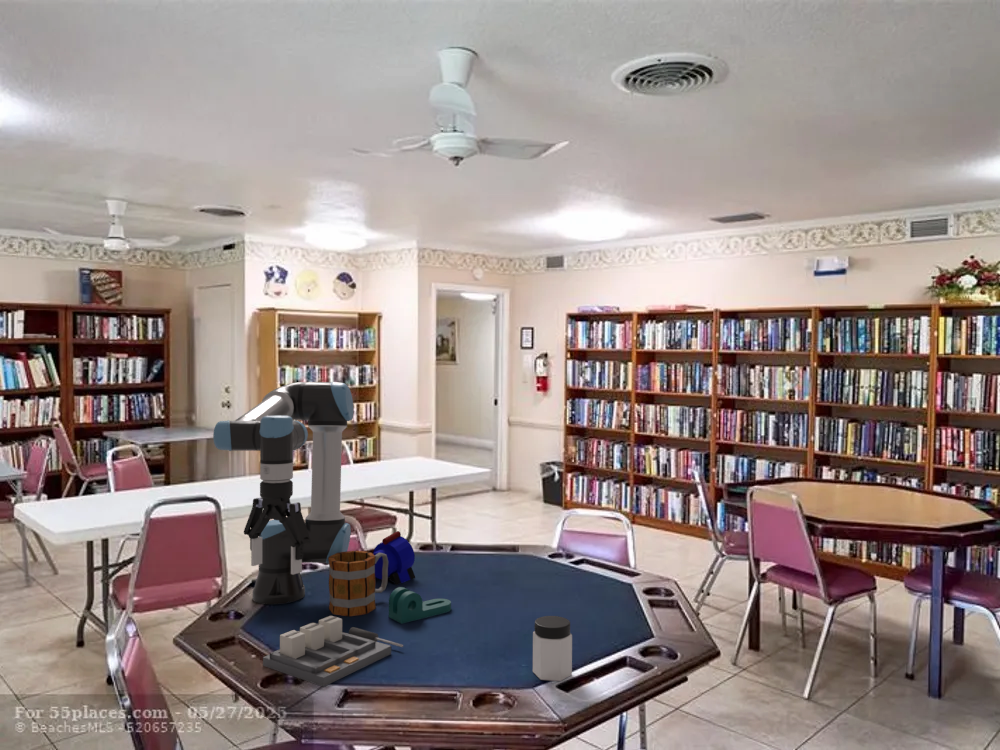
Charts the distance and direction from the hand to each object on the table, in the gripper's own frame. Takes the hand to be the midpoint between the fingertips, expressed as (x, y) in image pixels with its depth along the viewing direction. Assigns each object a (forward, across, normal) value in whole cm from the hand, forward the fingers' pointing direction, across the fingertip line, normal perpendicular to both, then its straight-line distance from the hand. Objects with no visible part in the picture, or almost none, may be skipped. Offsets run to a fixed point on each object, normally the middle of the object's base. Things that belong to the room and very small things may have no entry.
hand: (276, 568), depth 179 cm
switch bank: (+21, +12, +5) cm, 25 cm away
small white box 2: (+19, +8, +11) cm, 23 cm away
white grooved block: (+19, +7, +5) cm, 21 cm away
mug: (+21, -8, +39) cm, 45 cm away
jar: (+21, +61, +27) cm, 70 cm away
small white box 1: (+19, +7, -1) cm, 20 cm away
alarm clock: (+21, -18, +64) cm, 70 cm away
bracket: (+21, +11, +43) cm, 50 cm away
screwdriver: (+21, +15, +19) cm, 32 cm away
